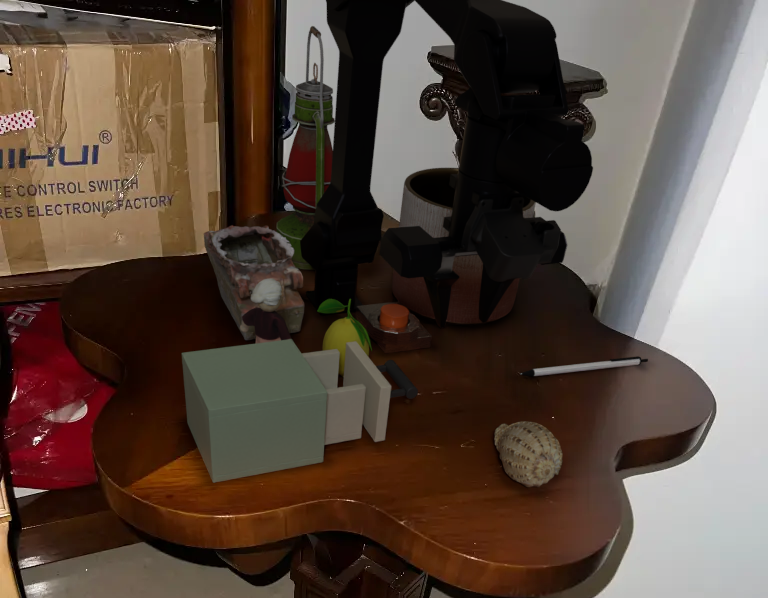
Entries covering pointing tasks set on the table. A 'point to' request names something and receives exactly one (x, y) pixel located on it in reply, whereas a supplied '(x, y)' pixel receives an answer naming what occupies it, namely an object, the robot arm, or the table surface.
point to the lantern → (308, 156)
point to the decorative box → (255, 271)
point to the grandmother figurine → (266, 313)
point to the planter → (427, 209)
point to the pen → (586, 366)
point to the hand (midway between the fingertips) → (461, 323)
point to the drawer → (357, 392)
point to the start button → (394, 316)
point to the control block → (393, 330)
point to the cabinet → (254, 408)
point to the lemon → (343, 332)
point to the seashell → (528, 452)
